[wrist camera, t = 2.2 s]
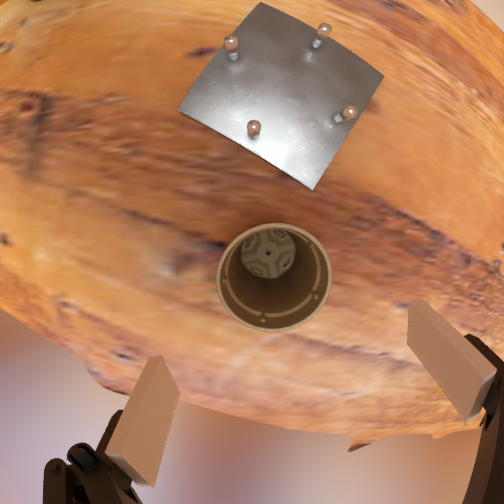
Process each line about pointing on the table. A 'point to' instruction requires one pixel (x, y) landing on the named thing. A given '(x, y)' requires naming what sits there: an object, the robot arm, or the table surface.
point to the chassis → (283, 92)
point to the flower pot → (274, 277)
